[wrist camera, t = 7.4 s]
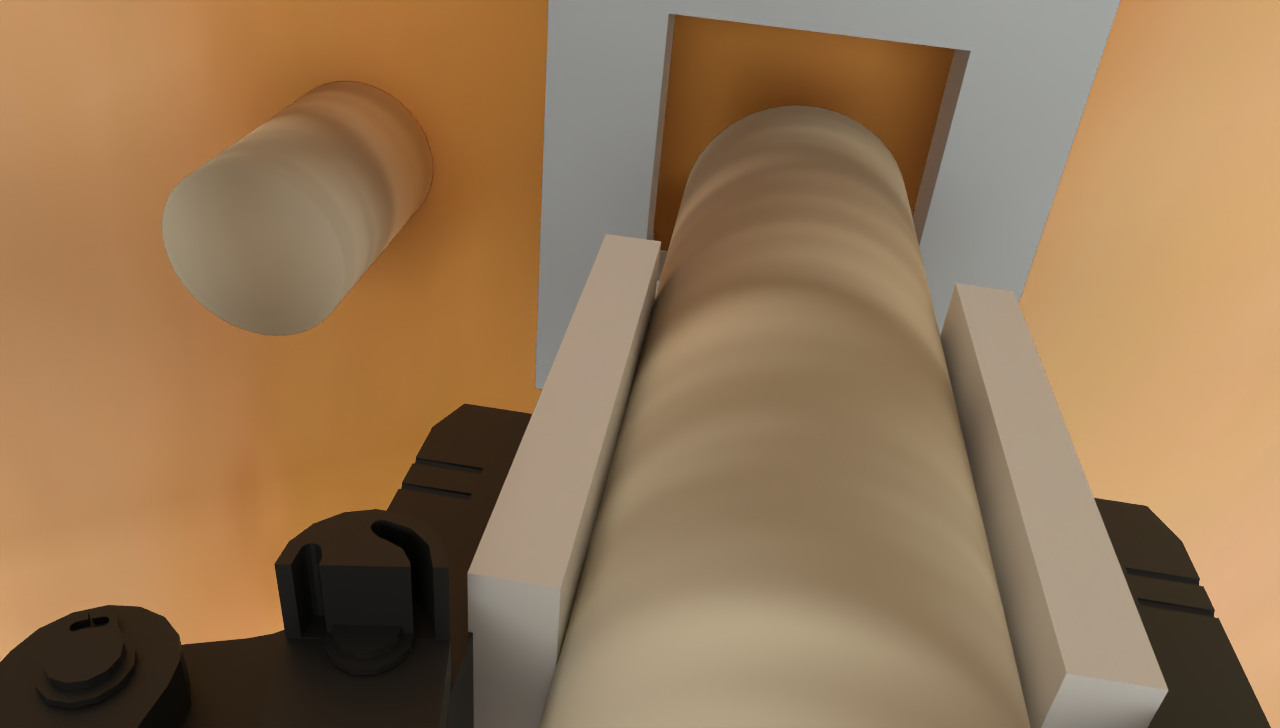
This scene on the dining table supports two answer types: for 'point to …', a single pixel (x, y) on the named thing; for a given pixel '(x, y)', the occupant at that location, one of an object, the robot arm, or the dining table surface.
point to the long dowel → (790, 469)
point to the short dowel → (298, 208)
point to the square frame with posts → (837, 4)
